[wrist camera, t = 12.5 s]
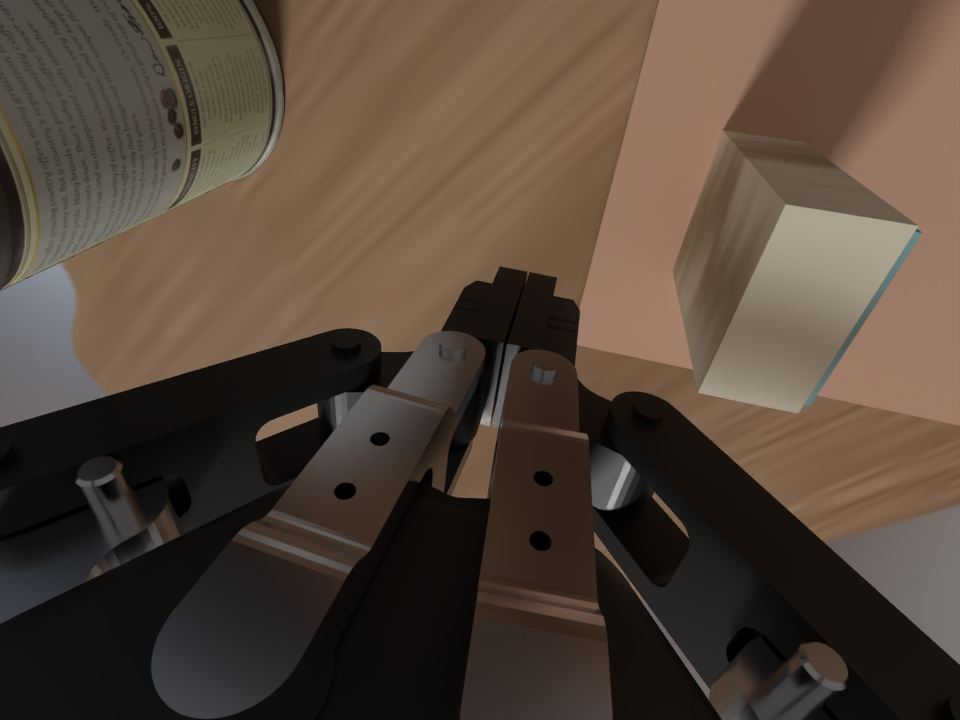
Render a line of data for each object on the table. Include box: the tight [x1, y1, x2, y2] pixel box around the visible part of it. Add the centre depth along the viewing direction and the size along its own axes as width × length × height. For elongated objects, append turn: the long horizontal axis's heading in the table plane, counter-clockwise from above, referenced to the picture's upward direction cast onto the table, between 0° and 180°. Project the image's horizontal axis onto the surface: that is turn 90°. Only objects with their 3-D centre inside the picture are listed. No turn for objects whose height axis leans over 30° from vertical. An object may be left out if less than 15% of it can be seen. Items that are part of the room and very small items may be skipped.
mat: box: [577, 0, 960, 425], centre depth 21 cm, size 16×20×1 cm
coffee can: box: [0, 0, 284, 290], centre depth 17 cm, size 10×10×14 cm
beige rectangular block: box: [672, 130, 923, 413], centre depth 17 cm, size 6×3×9 cm, turn 174°
